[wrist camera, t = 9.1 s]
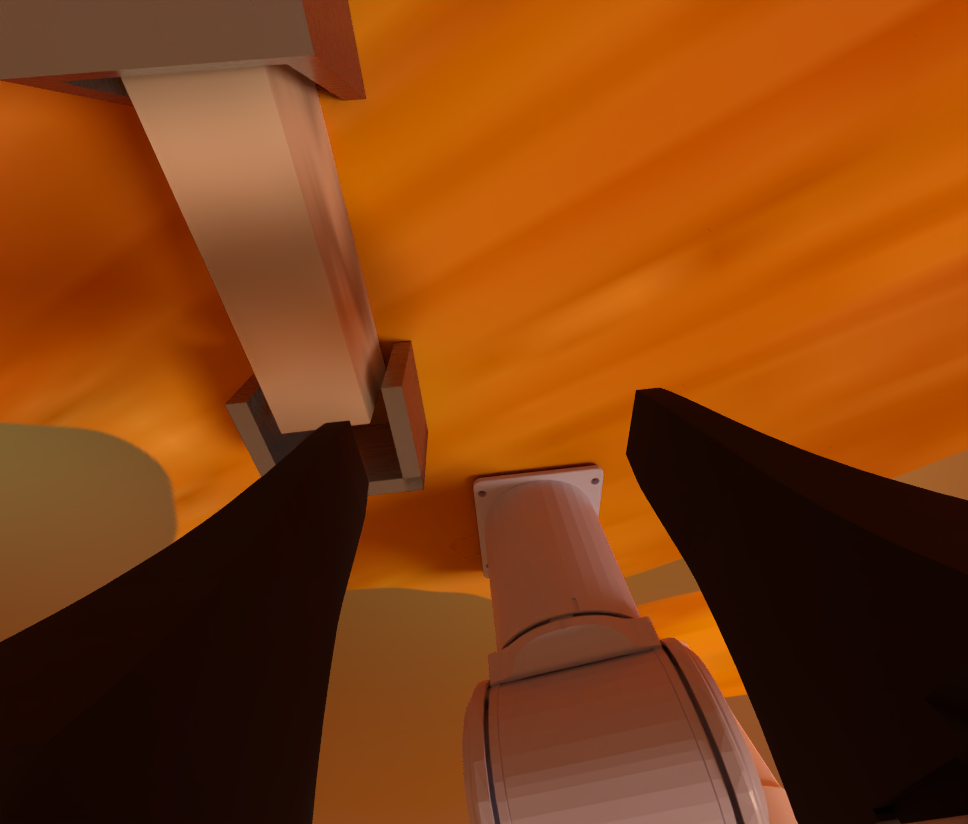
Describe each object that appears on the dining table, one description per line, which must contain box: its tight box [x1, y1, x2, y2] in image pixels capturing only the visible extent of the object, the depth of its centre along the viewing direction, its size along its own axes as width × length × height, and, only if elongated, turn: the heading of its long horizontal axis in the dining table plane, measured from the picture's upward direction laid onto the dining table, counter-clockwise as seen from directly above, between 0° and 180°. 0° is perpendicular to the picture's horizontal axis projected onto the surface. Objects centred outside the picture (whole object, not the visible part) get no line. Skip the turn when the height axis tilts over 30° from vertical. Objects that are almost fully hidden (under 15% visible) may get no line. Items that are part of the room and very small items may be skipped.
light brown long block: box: [121, 64, 386, 434], centre depth 14 cm, size 12×4×5 cm, turn 5°
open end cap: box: [225, 341, 428, 496], centre depth 18 cm, size 5×7×5 cm
